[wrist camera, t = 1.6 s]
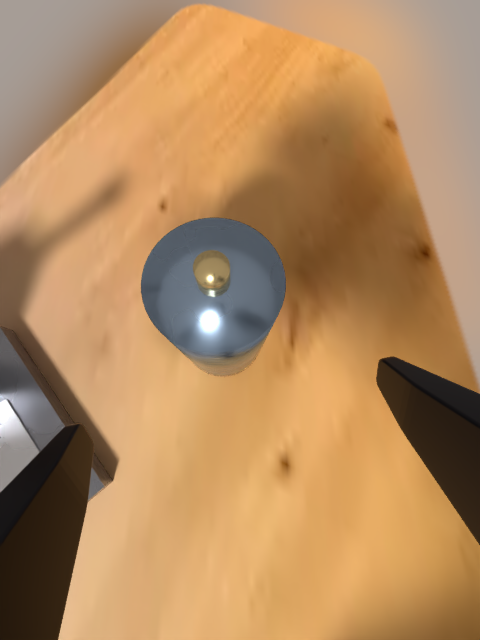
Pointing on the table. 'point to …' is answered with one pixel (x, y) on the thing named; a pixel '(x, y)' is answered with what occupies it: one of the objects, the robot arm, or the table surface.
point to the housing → (214, 292)
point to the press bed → (30, 414)
